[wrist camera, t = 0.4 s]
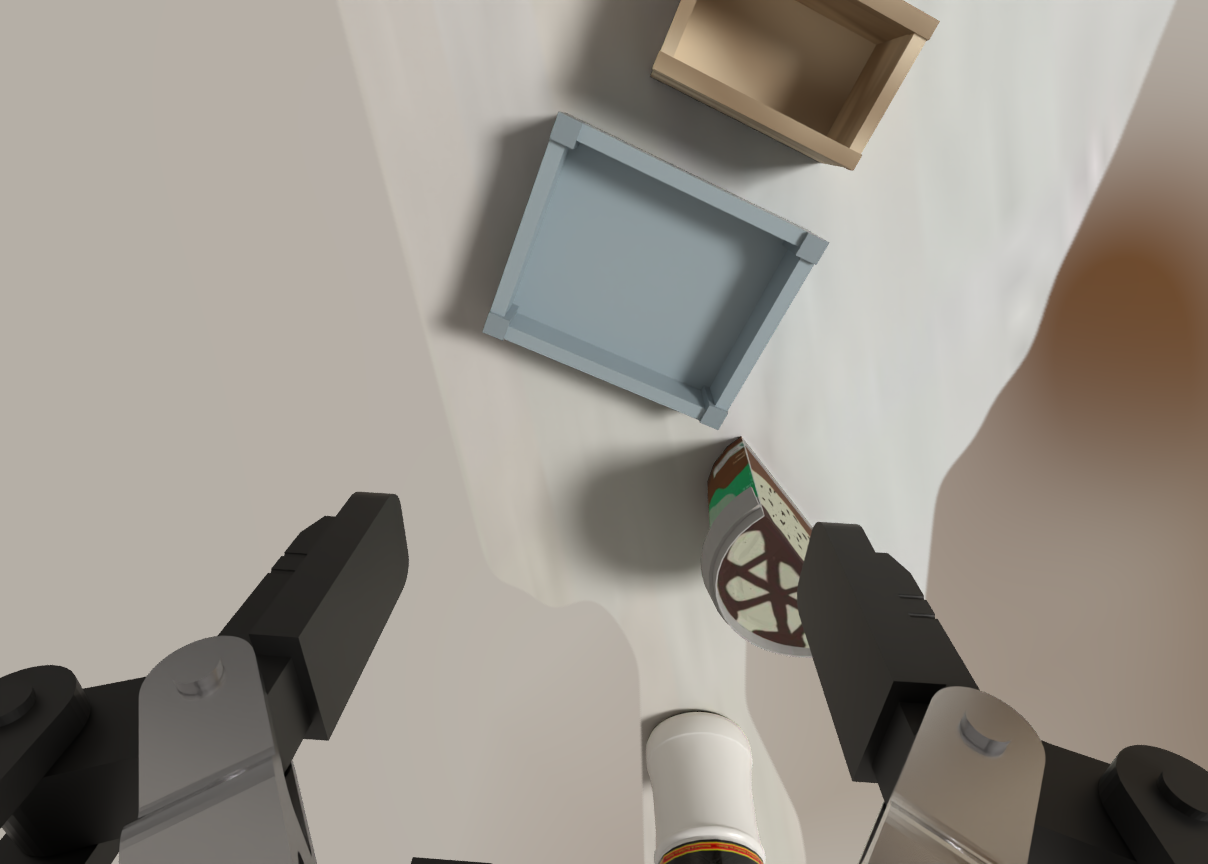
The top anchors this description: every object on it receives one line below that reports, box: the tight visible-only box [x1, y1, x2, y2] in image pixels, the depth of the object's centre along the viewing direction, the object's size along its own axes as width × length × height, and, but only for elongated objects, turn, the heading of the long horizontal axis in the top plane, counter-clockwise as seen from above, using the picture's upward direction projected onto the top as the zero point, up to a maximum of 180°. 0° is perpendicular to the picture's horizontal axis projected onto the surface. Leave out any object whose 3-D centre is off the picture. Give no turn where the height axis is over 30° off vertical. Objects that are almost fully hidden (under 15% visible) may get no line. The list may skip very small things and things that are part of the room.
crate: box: [482, 112, 829, 430], centre depth 33 cm, size 12×15×4 cm
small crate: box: [650, 0, 940, 170], centre depth 27 cm, size 6×10×5 cm, turn 67°
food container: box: [701, 436, 813, 658], centre depth 37 cm, size 12×6×10 cm, turn 39°
